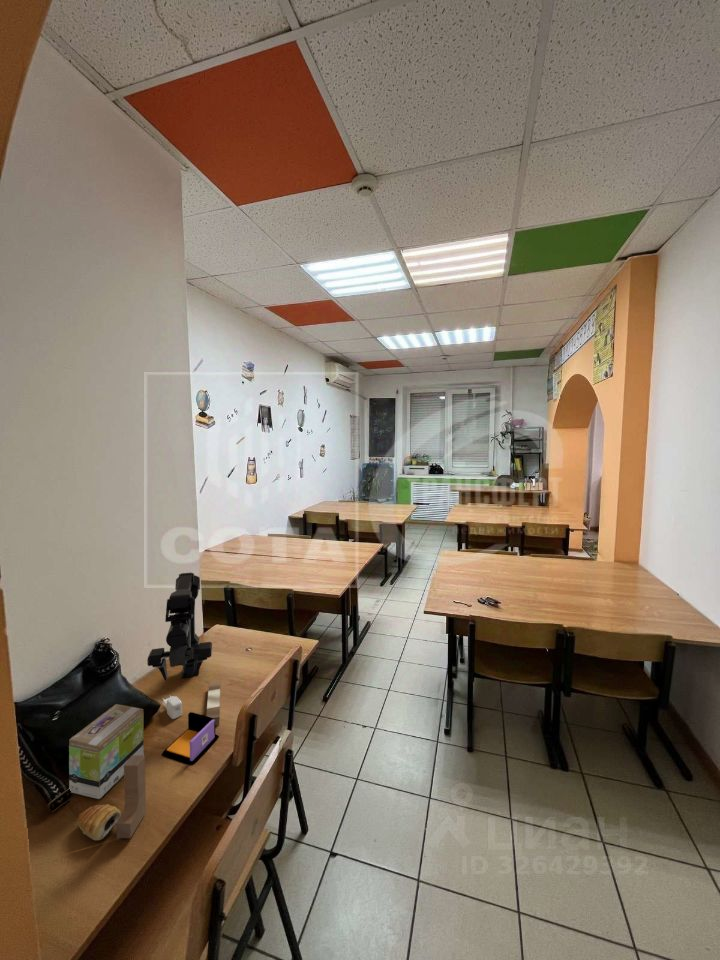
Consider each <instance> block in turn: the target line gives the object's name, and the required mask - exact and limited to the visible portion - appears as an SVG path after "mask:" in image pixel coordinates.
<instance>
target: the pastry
mask: <svg viewBox="0 0 720 960" xmlns="http://www.w3.org/2000/svg"><path fill="white" fill-rule="evenodd" d="M121 815H122V811H121V809H119V808H117V807H116V806H115V805H111V804H109V803H106V804H95V805H91V806H89V807H88V808H86V809H84V811H83V812H80V813H79V814H78V818H77V822H76V824H77V825H78V827H79V829H80V830H81V831H82V834H83V835H86V837H88V838H90V839H92V840H93V841H101V840H102V839H104V838H105V837H106V836H107V835H108V834H109V832H110V831H112V828H113V827H115V825H116V823H117V822H118V820H119V819H120V817H121Z"/></svg>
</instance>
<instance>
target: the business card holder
mask: <svg viewBox="0 0 720 960" xmlns="http://www.w3.org/2000/svg"><path fill="white" fill-rule="evenodd" d="M187 727H188V728H187V729H185V731H184V732H182V733H181V734H180V735H179V736H178V737H177V738H176V739H175V740H174V741H172V743H171V744H170V745H169V746H167V747H166V748H165V750H163V752H162V753H161V756H162V757H164V758H167V759H170V760H174V761H176V762H178V763H183V764H185V765H189V766H194V765H196V763H198V761H199V760H200V759H201V758H203V756H205V754H206V753H207V752H208V751H209V750H210V749H211V748H212V747H213V745H215V743H216V742H217V741H218V739H219V738H220V735H219V734H216V726H215V719H214V718H211V717H208V716H206V715H204V714H200V713H196V712H192V711H190V712H189V713H188V715H187Z"/></svg>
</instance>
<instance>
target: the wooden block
mask: <svg viewBox="0 0 720 960" xmlns="http://www.w3.org/2000/svg"><path fill="white" fill-rule="evenodd" d="M123 779H124V780H123V782H124V787H123V788H124V806H123V810H122V812H121V817H120V819H119V820H118V822H117V823H116V824H115V825H116V827H115V829H116V838H117V839H131V837H132V836H133V835H134V833H135V832H136V829H137V828H138V826H139V825H140V823H141V821H142V819H143V818H144V816H145V815H146V812H147V801H146V800H147V799H146V798H147V797H146V796H147V795H146V761H145V755H132V756H131V757H130V758H129V760H128V761H127V762H126V764H125V765H124V775H123Z"/></svg>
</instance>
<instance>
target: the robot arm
mask: <svg viewBox="0 0 720 960" xmlns="http://www.w3.org/2000/svg"><path fill="white" fill-rule="evenodd" d="M200 590H201V577H199V576H198V575H195V573H194V572H183V573H179V574H178V577H176V578H175V591H173V592H171V593H170V595H169V598H167V600H166V605H165V606H166V608H165V620H164V621H165V622H166V623H169V622H170V626H169V629H168V631H167V634H166V637H165V641H166V644H167V646H169V647H170V648H169V650H168V651H165V647H159V648H152V649H151V650H150V651H149V654H148V656H147V660H146V661H147V666H148V667H151V666H152V668H157V669H158V671H160V673H161V676H162V678H163V680H164V682H167V681H168V671H167V670H168V669H167V668H168V667H167V659H168V660H169V667H171V668H175V667H178V666H179V667H180V666H182V670H181V675H180V679H186V678H193V677H198V676H200V669H201V666H202V664H203V662H204V661H207V660H208V659H209V658H211V657H212V653H213V643H212V642H211V641H205V642H200V641H201V640H200V637H199V636H198V635H197V633H196V612H195V611H196V599H197V597H198V596H199V591H200Z"/></svg>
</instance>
